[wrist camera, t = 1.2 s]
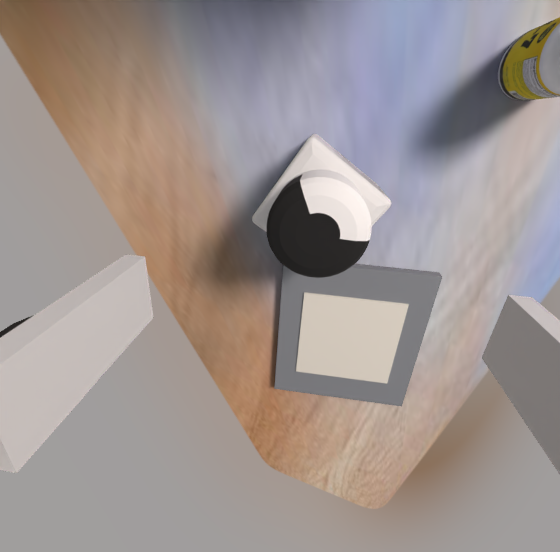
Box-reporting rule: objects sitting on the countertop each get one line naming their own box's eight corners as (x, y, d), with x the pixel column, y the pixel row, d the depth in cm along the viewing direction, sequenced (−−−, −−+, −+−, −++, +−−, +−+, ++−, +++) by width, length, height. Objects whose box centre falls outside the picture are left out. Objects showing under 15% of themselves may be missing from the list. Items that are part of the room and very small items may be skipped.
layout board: (284, 256, 34) (283, 260, 33) (438, 272, 33) (442, 277, 32) (275, 382, 42) (274, 389, 41) (399, 400, 41) (401, 407, 40)
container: (325, 245, 33) (325, 312, 22) (265, 199, 32) (231, 244, 20) (378, 185, 30) (412, 224, 18) (314, 131, 29) (307, 137, 17)
